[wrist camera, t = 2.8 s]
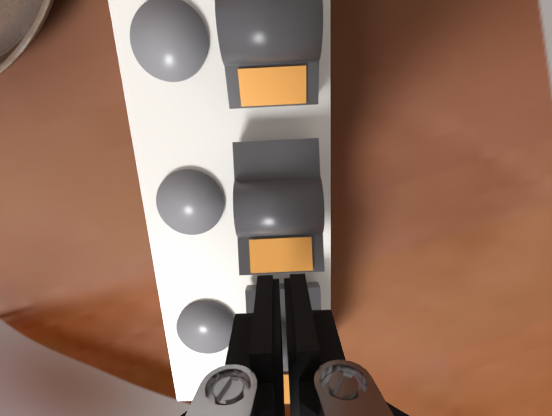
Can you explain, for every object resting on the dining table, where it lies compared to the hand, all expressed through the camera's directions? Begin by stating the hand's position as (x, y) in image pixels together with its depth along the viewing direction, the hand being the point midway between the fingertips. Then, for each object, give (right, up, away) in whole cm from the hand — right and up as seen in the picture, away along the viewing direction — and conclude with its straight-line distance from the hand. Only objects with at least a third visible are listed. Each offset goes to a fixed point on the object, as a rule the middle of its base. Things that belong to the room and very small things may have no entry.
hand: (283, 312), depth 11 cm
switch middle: (0, +4, +4) cm, 5 cm away
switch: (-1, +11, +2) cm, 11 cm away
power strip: (-2, +9, +7) cm, 11 cm away
